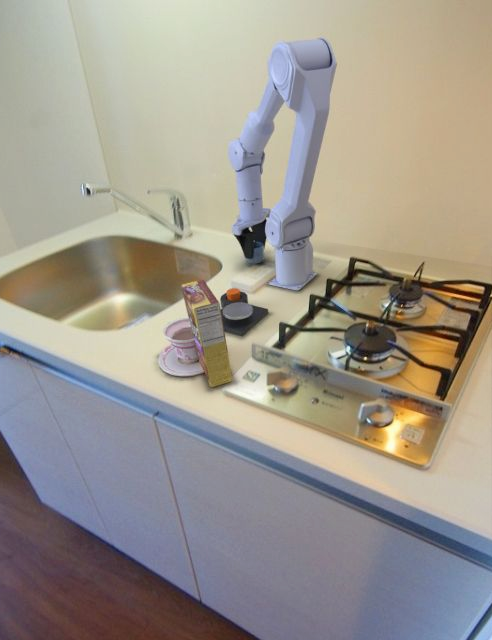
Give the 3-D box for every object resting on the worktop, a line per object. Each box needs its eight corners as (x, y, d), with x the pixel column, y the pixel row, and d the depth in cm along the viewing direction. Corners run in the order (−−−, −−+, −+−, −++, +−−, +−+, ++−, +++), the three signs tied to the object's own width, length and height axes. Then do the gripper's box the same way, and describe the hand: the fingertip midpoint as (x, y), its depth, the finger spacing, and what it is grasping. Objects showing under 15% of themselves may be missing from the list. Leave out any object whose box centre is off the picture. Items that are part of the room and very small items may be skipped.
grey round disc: (234, 302, 88) (233, 299, 88) (258, 308, 86) (258, 305, 85) (217, 315, 84) (216, 313, 84) (242, 322, 82) (241, 319, 81)
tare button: (232, 294, 92) (231, 287, 91) (243, 297, 91) (242, 289, 90) (224, 300, 90) (223, 292, 89) (235, 302, 89) (234, 295, 88)
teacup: (235, 347, 81) (231, 318, 77) (200, 384, 73) (194, 354, 69) (183, 335, 85) (177, 307, 81) (145, 368, 77) (136, 339, 73)
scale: (232, 301, 95) (230, 288, 93) (271, 311, 91) (270, 298, 89) (200, 325, 88) (198, 312, 86) (242, 336, 83) (240, 323, 82)
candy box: (196, 361, 78) (180, 283, 68) (218, 355, 79) (205, 277, 69) (208, 389, 72) (193, 307, 62) (233, 382, 73) (221, 301, 63)
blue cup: (252, 255, 113) (251, 240, 110) (268, 258, 111) (267, 243, 108) (242, 262, 110) (240, 247, 107) (258, 265, 108) (257, 249, 105)
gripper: (252, 188, 107) (256, 242, 115) (218, 205, 98) (225, 262, 106) (276, 190, 104) (279, 245, 112) (243, 208, 94) (249, 266, 103)
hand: (254, 254), depth 109 cm, fingers closed on blue cup, 5 cm apart
